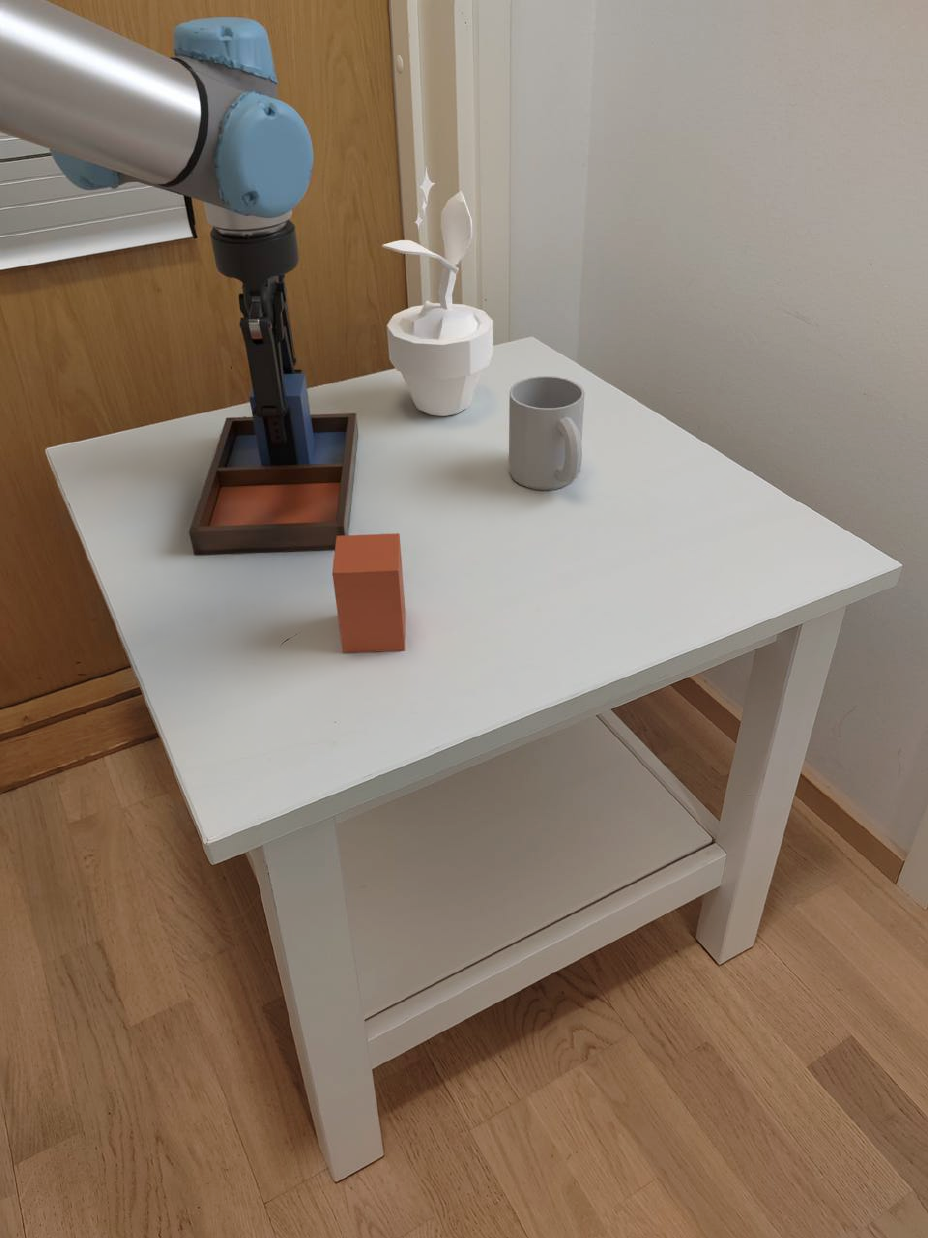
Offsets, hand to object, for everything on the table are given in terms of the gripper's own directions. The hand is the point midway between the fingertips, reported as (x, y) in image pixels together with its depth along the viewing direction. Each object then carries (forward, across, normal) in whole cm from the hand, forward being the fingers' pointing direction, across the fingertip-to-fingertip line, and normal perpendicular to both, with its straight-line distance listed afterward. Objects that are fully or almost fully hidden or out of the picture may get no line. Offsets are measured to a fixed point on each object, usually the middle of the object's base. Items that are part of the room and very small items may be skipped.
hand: (288, 453), depth 100 cm
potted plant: (+1, +12, -16) cm, 20 cm away
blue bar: (0, 0, 0) cm, 0 cm away
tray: (+1, -5, 0) cm, 5 cm away
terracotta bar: (+1, -28, -10) cm, 30 cm away
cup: (+1, -5, -27) cm, 28 cm away
